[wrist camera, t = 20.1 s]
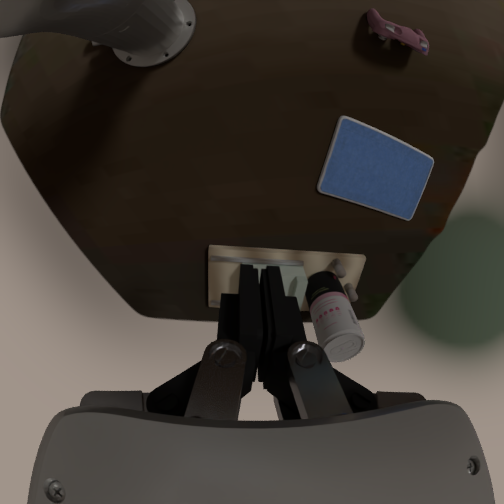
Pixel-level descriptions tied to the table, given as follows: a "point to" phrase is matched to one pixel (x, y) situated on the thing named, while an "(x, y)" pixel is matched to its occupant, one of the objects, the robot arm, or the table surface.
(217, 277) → the base board
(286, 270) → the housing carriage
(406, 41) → the video game controller
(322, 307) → the beverage can
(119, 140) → the table surface
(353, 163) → the tablet computer
